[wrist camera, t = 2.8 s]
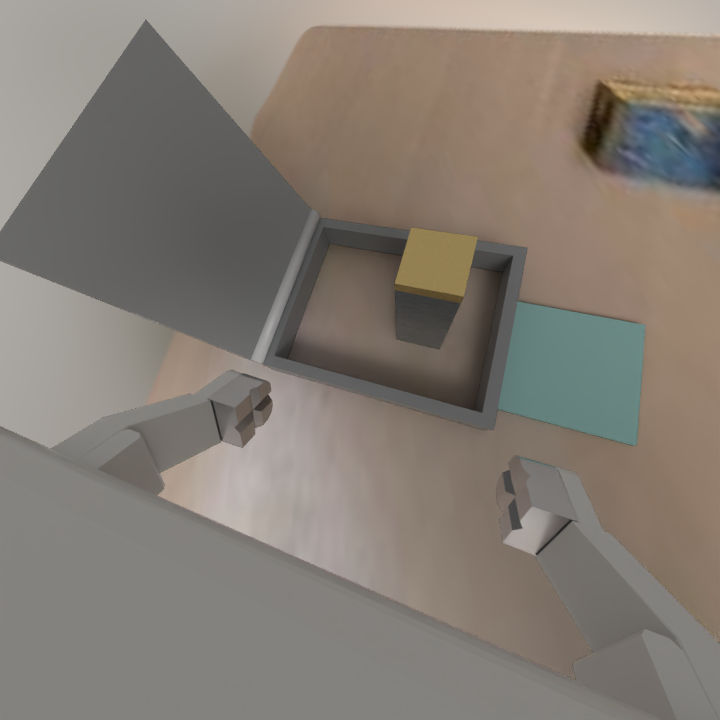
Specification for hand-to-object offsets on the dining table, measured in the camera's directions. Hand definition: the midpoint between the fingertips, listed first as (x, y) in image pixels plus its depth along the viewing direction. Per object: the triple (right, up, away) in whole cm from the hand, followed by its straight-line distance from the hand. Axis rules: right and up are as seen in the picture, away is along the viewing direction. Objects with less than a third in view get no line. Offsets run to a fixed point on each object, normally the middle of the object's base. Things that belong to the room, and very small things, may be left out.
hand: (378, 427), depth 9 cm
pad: (+17, +2, +14) cm, 22 cm away
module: (+5, +6, +16) cm, 18 cm away
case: (-1, +7, +18) cm, 19 cm away
